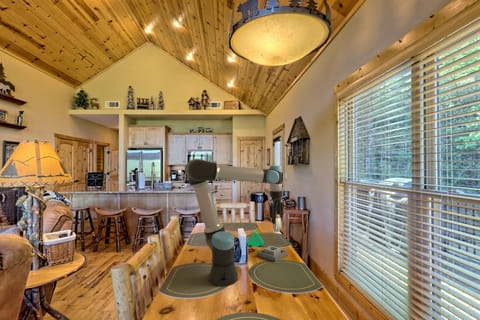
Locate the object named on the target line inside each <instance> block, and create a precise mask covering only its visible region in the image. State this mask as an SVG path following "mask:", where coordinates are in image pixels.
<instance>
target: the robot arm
mask: <svg viewBox="0 0 480 320" xmlns="http://www.w3.org/2000/svg"><path fill="white" fill-rule="evenodd" d="M184 173H185V175H186V177H187V179H188V183H189V186H190V187H192V188H193V190H194V194H195V197H196V200H197V203H198V207H199V209H200V213H201V217H202V221H203V224H204V226H205V227H204V229H203V234H204V238H205V242H206V244H207V247H209V249H210V251H211V262H212V263H211V268H210V272H209V275H208V282H209V281H210V282H209V283H210V284H212V285H213V286H217V287H218V286H220V287H227V286H231V285H233V284H235V283H237V282H238V280H239V275H238V272H237V269H236V268H237V267H236V264H235V237H234V235H233V233H231V232H228V231H226V229H225V226H224V224H223V223H221V222H220V218H219V215H218V211H217V208H216V204H215V202H214V201H215V200H214V198H213V195H212V191H211V188H210V184H209V182H211V181H214V182H215V181H216V180H224V181H234V182H235V181H236V182H250V183H261V184H269V196H270V197H271V201H268V202H267V203H268V208H269V219H271V221H272V222H271V224H272V230H274V229H277V219H276V214H279V215H280V229H282V218H283V216H284V203H285V200H284V199H282V197H283V191H282V190H283V168H282V166H281V165H270V166H269V168H267V169H266V168H264V169H263V168H253V167H243V166H233V165H225V164H218V163H217V162H213V161H207V160H204V159H199V158H192V159H190V160H189V161H188V162H186V164H185V167H184Z"/></svg>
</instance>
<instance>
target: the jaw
mask: <svg viewBox="0 0 480 320" xmlns="http://www.w3.org/2000/svg"><path fill="white" fill-rule="evenodd" d="M276 219H277V229H273V231H274V232H276V233H279V232H281V228H280V215H279V214H277V213H276Z"/></svg>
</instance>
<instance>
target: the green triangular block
mask: <svg viewBox="0 0 480 320" xmlns="http://www.w3.org/2000/svg"><path fill="white" fill-rule="evenodd" d="M247 244H248V245H247ZM246 245H247V246H252V247H255V248H257V247H259V246H265V242H264V239H262V237H261V236H260V235H259V232H257V231H256V230H254V231H253V232H252V233H251V235H250V237H249V238H248V239H247V240H246Z"/></svg>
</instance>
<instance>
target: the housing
mask: <svg viewBox="0 0 480 320" xmlns="http://www.w3.org/2000/svg"><path fill="white" fill-rule="evenodd" d="M256 257H257V258H260V259H264V260H267V261H270V262H273V263H277V262H279V261H280V260H283V258H286V257H288V250H285V249H281V247H278V246H274V245H269V246H267V247H265V248H263V249H261V250H258V251H257V252H256Z"/></svg>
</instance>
